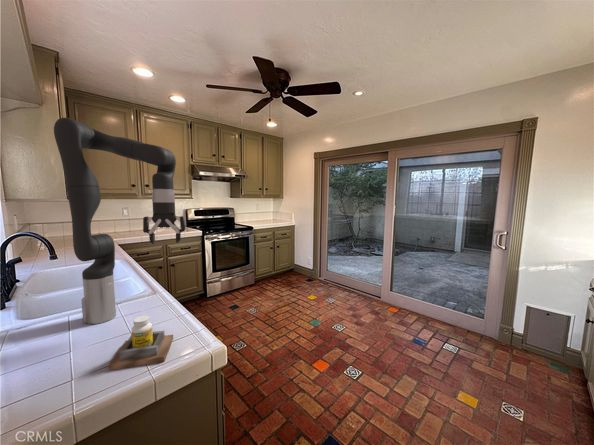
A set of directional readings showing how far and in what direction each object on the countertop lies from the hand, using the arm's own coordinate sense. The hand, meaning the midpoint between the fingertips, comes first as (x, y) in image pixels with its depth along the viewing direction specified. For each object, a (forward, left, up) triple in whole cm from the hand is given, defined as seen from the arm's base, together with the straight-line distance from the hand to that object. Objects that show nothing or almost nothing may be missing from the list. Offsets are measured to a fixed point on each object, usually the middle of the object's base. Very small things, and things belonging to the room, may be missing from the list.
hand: (165, 243), depth 94 cm
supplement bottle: (-2, -23, -29) cm, 37 cm away
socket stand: (-2, -23, -30) cm, 38 cm away
